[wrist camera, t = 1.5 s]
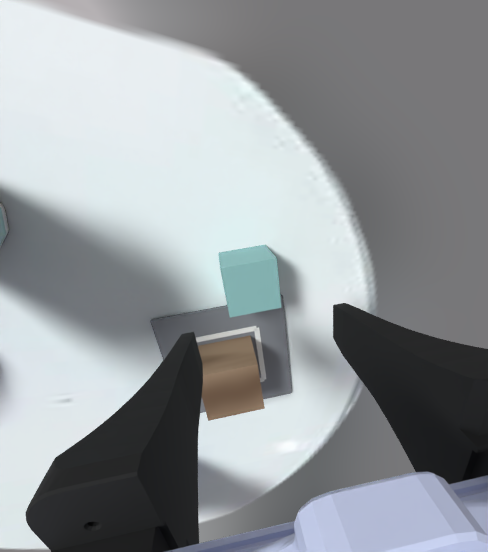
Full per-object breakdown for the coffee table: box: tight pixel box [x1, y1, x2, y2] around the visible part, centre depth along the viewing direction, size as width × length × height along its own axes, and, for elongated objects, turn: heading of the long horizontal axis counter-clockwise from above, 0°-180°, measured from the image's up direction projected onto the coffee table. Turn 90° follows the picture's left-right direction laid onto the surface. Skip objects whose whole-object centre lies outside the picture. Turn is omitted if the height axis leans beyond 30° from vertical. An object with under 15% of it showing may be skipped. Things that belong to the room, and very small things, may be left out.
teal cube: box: [219, 245, 281, 317], centre depth 20 cm, size 4×4×4 cm
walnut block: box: [198, 336, 264, 421], centre depth 23 cm, size 5×5×4 cm
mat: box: [151, 295, 292, 413], centre depth 25 cm, size 12×12×1 cm
